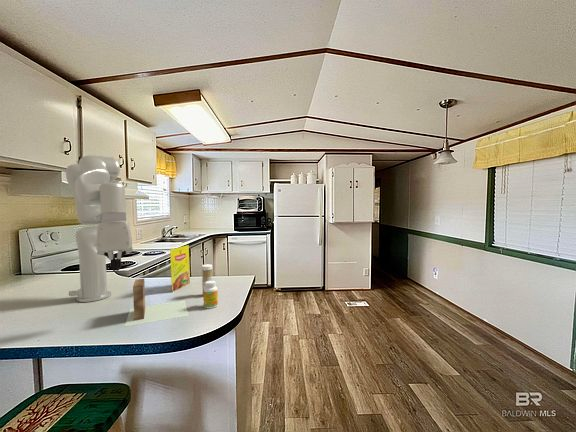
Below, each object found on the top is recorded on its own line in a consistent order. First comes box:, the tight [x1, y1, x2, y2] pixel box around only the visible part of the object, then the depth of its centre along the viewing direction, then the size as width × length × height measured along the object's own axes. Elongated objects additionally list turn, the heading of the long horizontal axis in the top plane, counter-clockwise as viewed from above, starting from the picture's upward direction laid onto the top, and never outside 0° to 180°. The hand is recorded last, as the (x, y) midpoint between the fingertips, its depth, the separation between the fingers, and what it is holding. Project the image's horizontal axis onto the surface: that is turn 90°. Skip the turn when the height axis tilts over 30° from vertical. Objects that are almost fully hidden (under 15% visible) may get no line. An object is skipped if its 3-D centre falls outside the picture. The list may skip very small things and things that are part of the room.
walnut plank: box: [132, 278, 146, 321], centre depth 101 cm, size 3×10×12 cm, turn 25°
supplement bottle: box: [203, 280, 219, 309], centre depth 109 cm, size 5×5×10 cm
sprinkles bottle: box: [201, 263, 213, 297], centre depth 123 cm, size 5×5×14 cm
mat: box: [124, 299, 189, 327], centre depth 103 cm, size 20×18×1 cm
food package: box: [169, 244, 191, 293], centre depth 135 cm, size 15×1×20 cm, turn 168°
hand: (116, 270), depth 97 cm, fingers closed
